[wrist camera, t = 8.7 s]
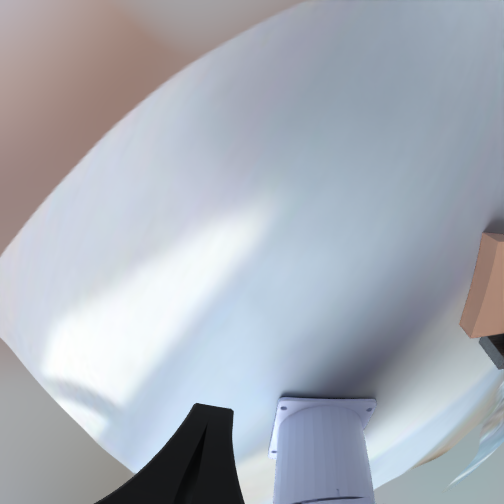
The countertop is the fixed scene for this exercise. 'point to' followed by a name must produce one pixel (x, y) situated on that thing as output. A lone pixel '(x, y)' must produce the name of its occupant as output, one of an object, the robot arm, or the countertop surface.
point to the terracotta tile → (486, 290)
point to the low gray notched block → (494, 348)
